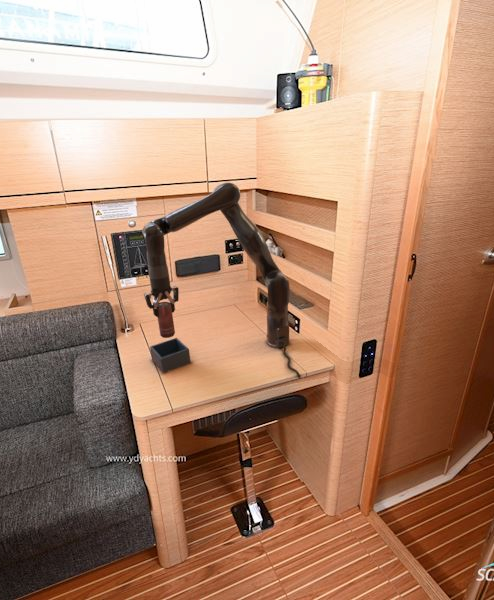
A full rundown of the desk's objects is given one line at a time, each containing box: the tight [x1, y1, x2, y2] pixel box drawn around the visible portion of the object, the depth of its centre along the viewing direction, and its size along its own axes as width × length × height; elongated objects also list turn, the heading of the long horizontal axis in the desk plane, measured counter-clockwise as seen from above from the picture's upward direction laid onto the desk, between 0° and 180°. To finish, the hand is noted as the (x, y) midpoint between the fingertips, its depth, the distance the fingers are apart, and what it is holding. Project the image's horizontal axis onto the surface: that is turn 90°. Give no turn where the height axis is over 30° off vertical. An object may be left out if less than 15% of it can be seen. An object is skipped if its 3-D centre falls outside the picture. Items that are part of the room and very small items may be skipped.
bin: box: [149, 337, 191, 374], centre depth 143 cm, size 13×13×7 cm
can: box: [157, 301, 176, 339], centre depth 137 cm, size 6×6×14 cm
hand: (164, 314), depth 136 cm, fingers closed on can, 6 cm apart
